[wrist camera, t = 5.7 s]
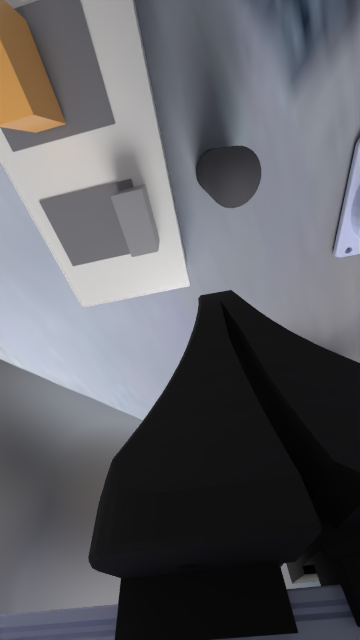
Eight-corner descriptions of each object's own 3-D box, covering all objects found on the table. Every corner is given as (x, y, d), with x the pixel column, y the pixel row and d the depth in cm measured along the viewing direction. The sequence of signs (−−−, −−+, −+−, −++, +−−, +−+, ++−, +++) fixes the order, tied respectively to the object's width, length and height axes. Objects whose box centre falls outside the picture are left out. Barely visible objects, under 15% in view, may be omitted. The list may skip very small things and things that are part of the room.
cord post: (230, 144, 14) (261, 139, 9) (232, 187, 16) (260, 201, 11) (193, 153, 14) (204, 153, 10) (198, 194, 16) (211, 212, 11)
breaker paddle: (26, 20, 8) (-32, -34, 6) (66, 123, 10) (33, 114, 8) (-10, 32, 9) (-82, -17, 6) (35, 132, 10) (-6, 126, 8)
